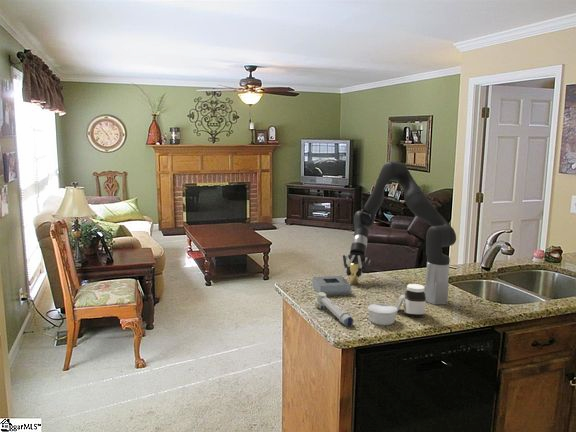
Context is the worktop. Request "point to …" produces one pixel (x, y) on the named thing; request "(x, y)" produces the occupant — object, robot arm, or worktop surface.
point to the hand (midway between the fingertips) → (353, 275)
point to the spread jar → (413, 300)
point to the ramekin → (382, 313)
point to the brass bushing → (354, 273)
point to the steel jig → (332, 285)
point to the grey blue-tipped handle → (333, 309)
